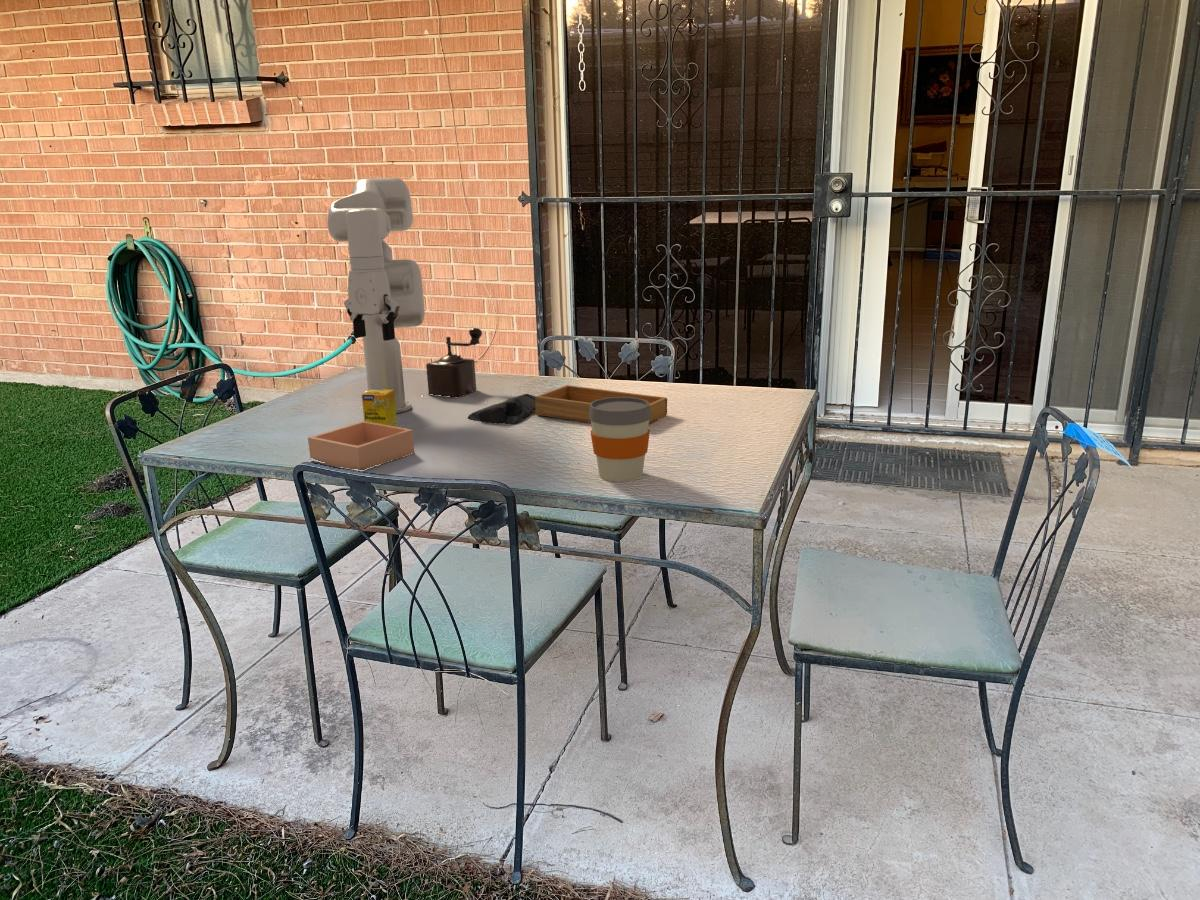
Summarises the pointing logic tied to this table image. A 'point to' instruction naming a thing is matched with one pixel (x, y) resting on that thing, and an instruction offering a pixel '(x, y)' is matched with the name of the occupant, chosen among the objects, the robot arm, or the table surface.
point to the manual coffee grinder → (453, 371)
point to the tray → (588, 402)
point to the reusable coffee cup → (620, 436)
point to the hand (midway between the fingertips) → (374, 338)
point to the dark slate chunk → (506, 410)
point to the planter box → (361, 445)
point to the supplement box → (379, 407)
